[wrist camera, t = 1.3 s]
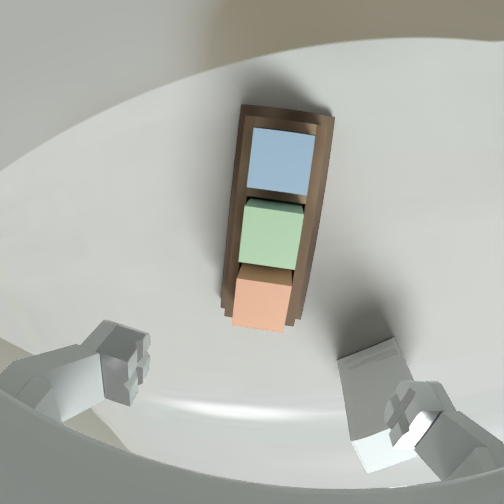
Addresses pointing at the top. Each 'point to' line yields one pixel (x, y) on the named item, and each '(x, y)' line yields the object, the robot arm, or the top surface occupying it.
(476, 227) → the top surface
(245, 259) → the sage block
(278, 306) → the terracotta block
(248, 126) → the divided box
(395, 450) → the supplement box
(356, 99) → the top surface
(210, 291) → the top surface
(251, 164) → the blue block
